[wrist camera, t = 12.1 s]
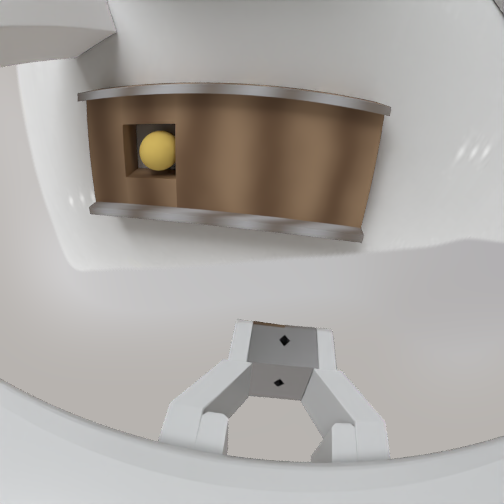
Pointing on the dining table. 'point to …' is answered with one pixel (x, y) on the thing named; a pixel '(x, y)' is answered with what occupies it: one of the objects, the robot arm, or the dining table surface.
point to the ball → (158, 150)
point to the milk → (51, 29)
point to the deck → (238, 156)
